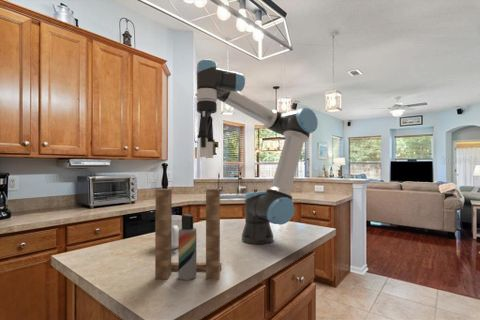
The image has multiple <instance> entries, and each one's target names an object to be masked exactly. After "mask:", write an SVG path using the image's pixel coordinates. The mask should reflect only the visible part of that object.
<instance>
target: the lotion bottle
mask: <svg viewBox="0 0 480 320" xmlns="http://www.w3.org/2000/svg"><path fill="white" fill-rule="evenodd" d="M181 216H182V228H181V229H179V237H178V247H177V248H178V259H177V260H178V272H177V273H178V278H179V279H180V280H183V281H190V280H193V279H195V278H197V271H196V263H197V228H195V227H194V220H195V219H194V218H195V217H194V215H193V214H191V213H183V214H182V215H181Z"/></svg>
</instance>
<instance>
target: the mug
mask: <svg viewBox="0 0 480 320" xmlns="http://www.w3.org/2000/svg"><path fill="white" fill-rule="evenodd" d="M182 216H183V215H178V214H177V215H176V214H172V250H174V249H177V248H178V237H179V229H181V228H182Z"/></svg>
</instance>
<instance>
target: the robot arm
mask: <svg viewBox="0 0 480 320" xmlns="http://www.w3.org/2000/svg"><path fill="white" fill-rule="evenodd" d="M245 84H246V77H245V76H244V74H243V73H241V72H237V71H232V70H225V69H221V68H218V64H217V62H216V61H214V60H212V59H208V58H207V59H201V60H200V61H198V62H197V66H196V93H195V94H194V95H195V96H196V101H197V102H196V111H197V113H199V114H200V116H199V117H200V118H199V127H198V134H197V139H199V158H206V159H213V158H214V143H215V139H214V129H213V125H214V124H213V120H214V119H213V117H212V116H211V115H212V114H215V113H217V110H218V109H217V108H218V107H217V106H218V105H217V100H218V101H221V102H222V103H224V104H226V105H228V106H229V107H231V108H234V109H235V110H237V111H239V112H240V113H243V114H245V115H246V116H248V117H250V118H252V119H254V120H256V121H258V122H259V123H261V124H263V125H264V127H265V128H266V129H267V130H270V131H272V132H274V133H276V134H278V135H281V136H284V137H285V139H284V143H283V146H282V148H281V152H280V155H279V159H278V162H277V165H276V166H277V167H276V170H275V172H274V176H273V180H272V183H271V185H270V187H268V188H267V189H266V191H265V190H264V191H255V192H254V191H253V192H246V194H245V197H244V204H245V205H244V207H245V209H244V211H245V213H244V218H245V223H244V227H243V230H242V233H241V240H242V242H243V243H246V244H252V245H265V244H270V243H272V242H273V241H274V233H273V231H272V227H271V225H270V224H273V225H279V226H280V225H286V224H287V223H288V222H290V221H291V219H292V218H293V216H294V213H295V205H294V202H293V194H292V193H291V191H292V187H293V182H294V179H295V176H296V171H297V168H298V165H299V162H300V158H301V154H302V152H303V151H302V150H303V148H304V143H306V142H308V141H309V138H310V134H312V133H314V132H315V131H316V130H317V129H318V124H319V123H318V122H319V120H318V117H317V116H316V113H315V112H314V110H312V109H311V108H310V107H303V108H302V107H300V108H297V109H294V110H290V111H287V112H280V111H277V110H276V109H272V110H271V109H270V108H268V107H266V106H264V105H263V104H261V103H260V102H257V101H255V99H254V100H253V99H252V98H250V97H249V96H247V95H245V94H243V93H242V91H243V90H244V89H245Z"/></svg>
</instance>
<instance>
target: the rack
mask: <svg viewBox="0 0 480 320" xmlns="http://www.w3.org/2000/svg"><path fill="white" fill-rule="evenodd" d="M172 190H173V188H157V189H155V212H154V213H155V215H154V217H155V222H154V223H155V224H154V225H155V229H154V230H155V233H154V234H155V236H154V237H155V239H154V243H155V247H154V248H155V250H154V251H155V254H154V256H155V257H154V259H155V264H154V269H155V270H154V271H155V272H154V273H155V274H154V276H155V277H154V279H155V280H168V279H169V278H170V277H171V276H172V271H178V262H172V250H173V249H172V215H173V214H172V213H173V212H172V210H173V209H172V206H173V203H172V199H173V198H172V197H173V196H172V195H173V194H172V192H173V191H172ZM197 271H203V272H205V280H214V281H215V280H219V279H220V277H221V276H220V275H221V271H222V262H221V189H220V188H207V189H205V262H196V272H197Z"/></svg>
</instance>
